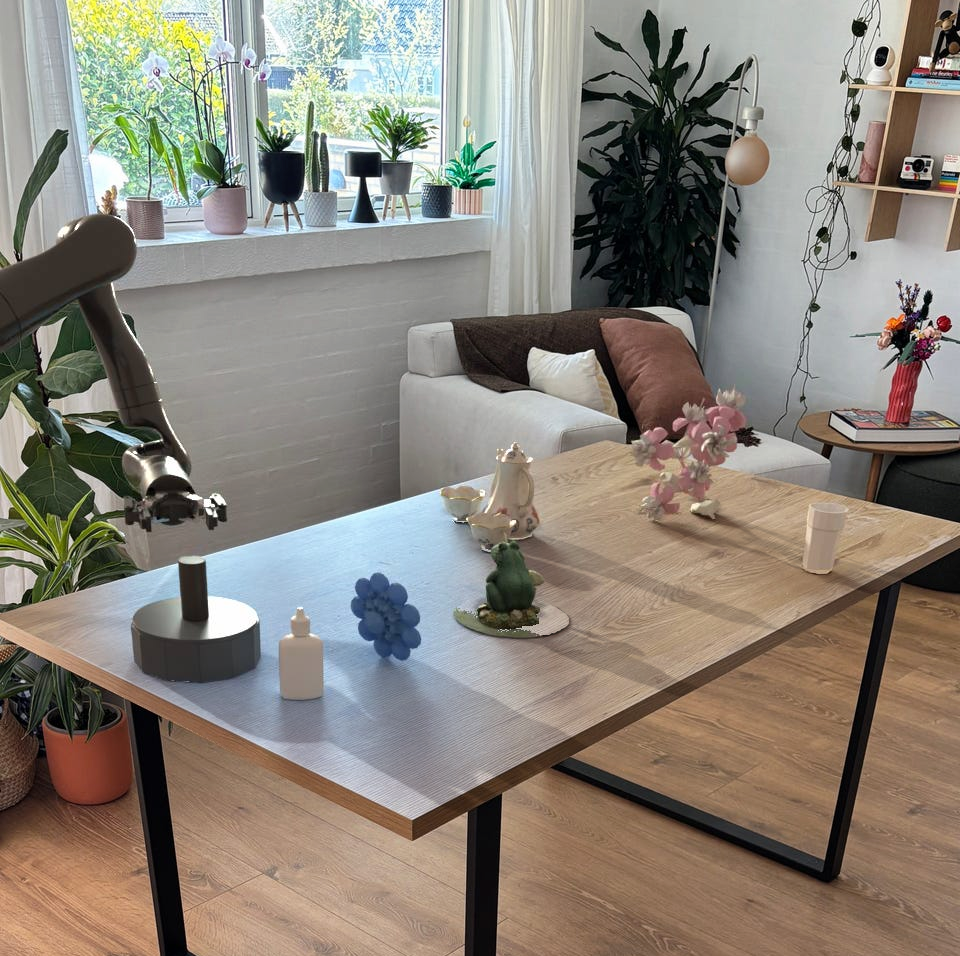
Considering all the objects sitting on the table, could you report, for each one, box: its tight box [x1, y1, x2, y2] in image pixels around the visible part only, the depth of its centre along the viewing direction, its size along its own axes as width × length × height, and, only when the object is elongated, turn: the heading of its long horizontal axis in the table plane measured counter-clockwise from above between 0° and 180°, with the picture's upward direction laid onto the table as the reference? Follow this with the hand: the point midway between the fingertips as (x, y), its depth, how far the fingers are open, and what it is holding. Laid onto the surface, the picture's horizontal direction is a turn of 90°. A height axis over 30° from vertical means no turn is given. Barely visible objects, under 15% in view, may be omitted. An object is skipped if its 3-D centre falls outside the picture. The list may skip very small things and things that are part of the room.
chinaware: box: [439, 441, 540, 550], centre depth 231 cm, size 28×17×17 cm, turn 23°
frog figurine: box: [453, 540, 545, 639], centre depth 196 cm, size 18×18×12 cm
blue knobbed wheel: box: [350, 572, 422, 662], centre depth 179 cm, size 12×7×12 cm, turn 58°
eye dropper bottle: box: [278, 606, 325, 701], centre depth 167 cm, size 4×6×12 cm
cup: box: [801, 501, 849, 570], centre depth 225 cm, size 7×7×11 cm
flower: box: [628, 381, 747, 521], centre depth 247 cm, size 20×22×25 cm
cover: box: [130, 555, 262, 684], centre depth 176 cm, size 17×17×14 cm
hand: (180, 524), depth 180 cm, fingers open, 8 cm apart
